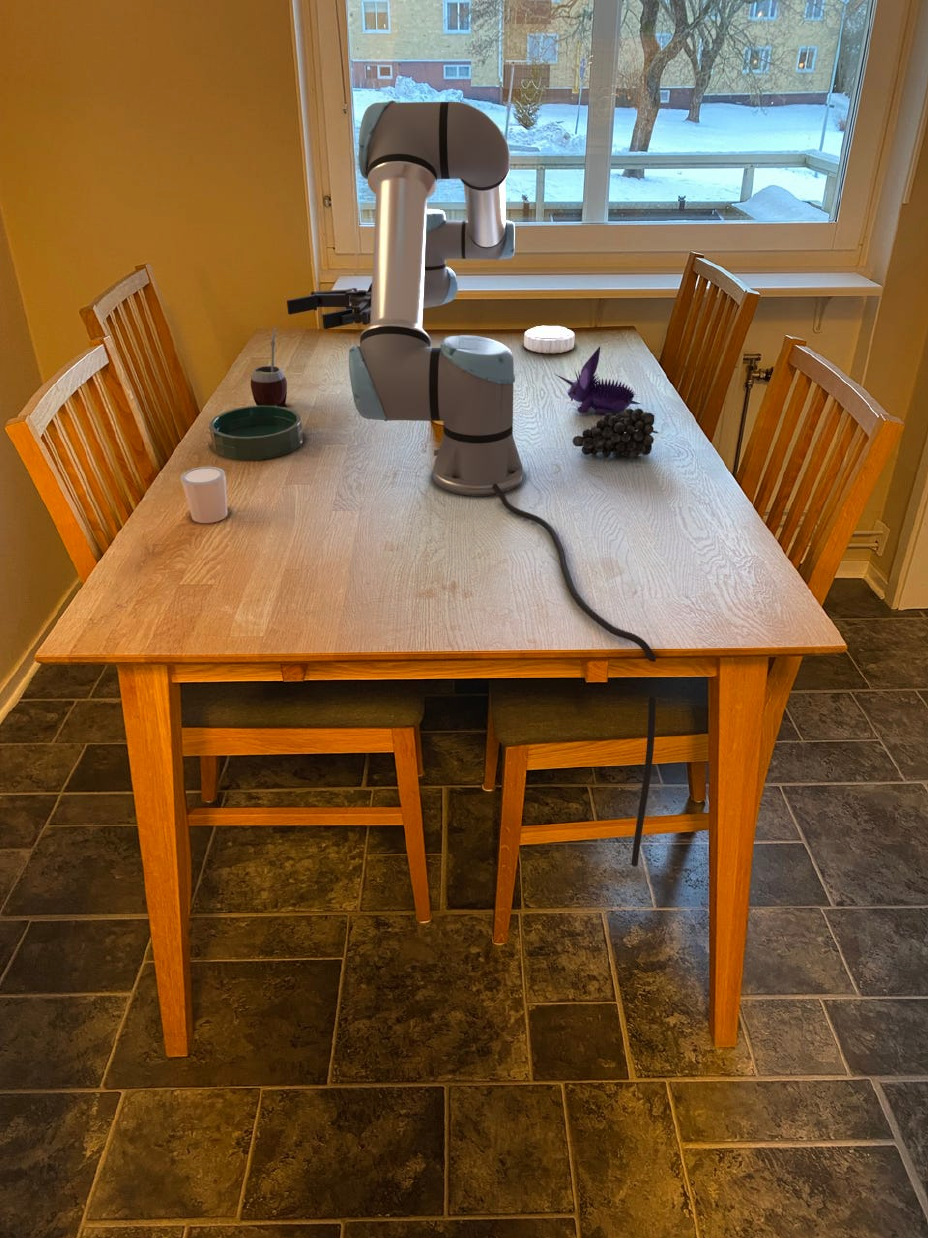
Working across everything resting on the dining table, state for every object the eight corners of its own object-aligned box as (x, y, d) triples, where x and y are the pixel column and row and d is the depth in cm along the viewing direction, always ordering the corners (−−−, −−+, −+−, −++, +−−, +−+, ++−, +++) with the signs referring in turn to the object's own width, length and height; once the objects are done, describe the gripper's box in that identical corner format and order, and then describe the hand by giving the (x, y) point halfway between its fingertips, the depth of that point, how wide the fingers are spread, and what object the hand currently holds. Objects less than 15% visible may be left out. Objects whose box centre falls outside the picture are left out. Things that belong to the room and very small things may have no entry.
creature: (553, 399, 192) (556, 340, 186) (642, 404, 190) (648, 344, 183) (549, 415, 185) (552, 354, 178) (641, 420, 183) (647, 358, 176)
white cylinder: (220, 526, 146) (213, 485, 142) (180, 522, 147) (172, 482, 143) (238, 507, 152) (232, 467, 148) (199, 504, 153) (191, 464, 149)
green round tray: (305, 456, 169) (303, 434, 167) (211, 463, 166) (207, 441, 164) (300, 422, 183) (298, 402, 180) (214, 429, 180) (210, 408, 178)
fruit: (574, 410, 162) (661, 408, 161) (570, 409, 170) (653, 406, 169) (574, 461, 164) (660, 458, 163) (570, 457, 172) (652, 455, 171)
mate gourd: (258, 416, 185) (248, 341, 177) (249, 404, 192) (239, 330, 183) (295, 411, 188) (287, 336, 180) (285, 398, 194) (277, 326, 186)
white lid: (547, 335, 230) (548, 321, 228) (584, 346, 223) (585, 331, 221) (513, 345, 223) (513, 330, 222) (550, 357, 216) (550, 341, 214)
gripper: (428, 327, 191) (341, 347, 180) (360, 302, 207) (276, 319, 196) (427, 289, 187) (338, 308, 175) (358, 267, 203) (272, 283, 192)
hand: (305, 314), depth 186 cm, fingers open, 13 cm apart
